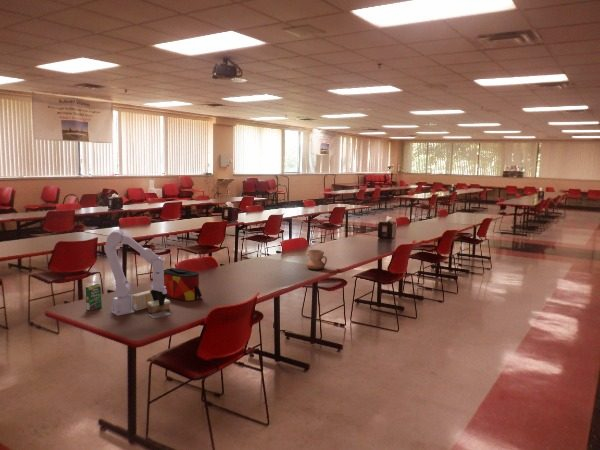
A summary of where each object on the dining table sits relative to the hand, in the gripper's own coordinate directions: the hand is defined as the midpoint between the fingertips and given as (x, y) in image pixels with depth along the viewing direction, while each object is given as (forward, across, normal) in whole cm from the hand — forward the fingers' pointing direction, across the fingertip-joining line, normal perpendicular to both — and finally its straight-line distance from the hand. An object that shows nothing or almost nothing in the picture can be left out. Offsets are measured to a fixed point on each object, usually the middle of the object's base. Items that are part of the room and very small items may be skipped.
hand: (158, 304), depth 255 cm
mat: (+4, -7, +3) cm, 8 cm away
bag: (+4, +18, -23) cm, 30 cm away
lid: (0, 0, 0) cm, 0 cm away
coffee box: (+4, +26, +25) cm, 36 cm away
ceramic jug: (+4, +20, -141) cm, 142 cm away
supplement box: (0, +12, -3) cm, 13 cm away
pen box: (+4, 0, 0) cm, 4 cm away
